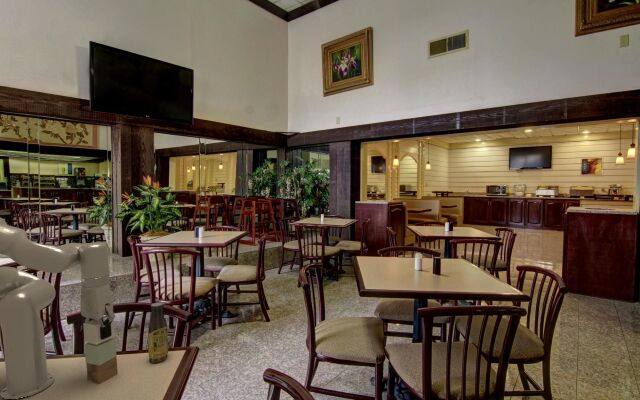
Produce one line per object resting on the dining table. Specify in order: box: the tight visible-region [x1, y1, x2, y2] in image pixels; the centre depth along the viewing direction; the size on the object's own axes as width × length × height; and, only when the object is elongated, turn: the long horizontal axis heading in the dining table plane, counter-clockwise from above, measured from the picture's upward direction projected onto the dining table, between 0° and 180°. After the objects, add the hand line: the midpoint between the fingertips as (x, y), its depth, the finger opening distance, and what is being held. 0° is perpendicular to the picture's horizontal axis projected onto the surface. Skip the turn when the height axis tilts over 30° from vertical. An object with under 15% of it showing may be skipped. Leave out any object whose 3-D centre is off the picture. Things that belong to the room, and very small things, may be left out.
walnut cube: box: [85, 356, 119, 385], centre depth 110 cm, size 6×6×6 cm
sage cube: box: [84, 337, 117, 365], centre depth 109 cm, size 6×6×6 cm
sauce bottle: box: [147, 302, 169, 364], centre depth 120 cm, size 6×6×20 cm
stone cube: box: [83, 318, 116, 345], centre depth 109 cm, size 6×6×6 cm
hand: (99, 335), depth 109 cm, fingers closed on stone cube, 5 cm apart
